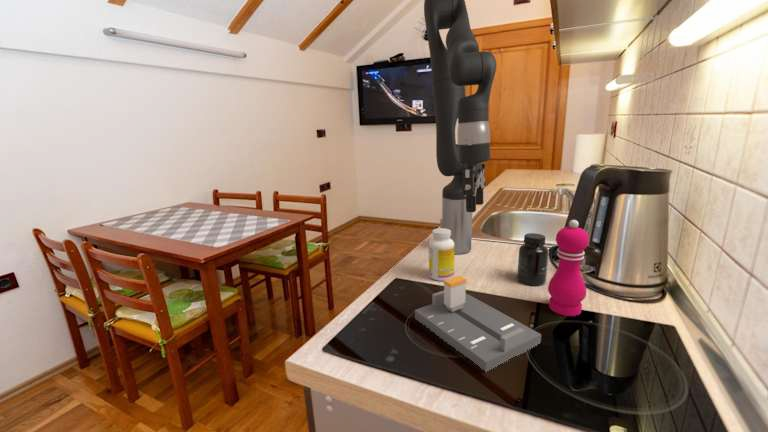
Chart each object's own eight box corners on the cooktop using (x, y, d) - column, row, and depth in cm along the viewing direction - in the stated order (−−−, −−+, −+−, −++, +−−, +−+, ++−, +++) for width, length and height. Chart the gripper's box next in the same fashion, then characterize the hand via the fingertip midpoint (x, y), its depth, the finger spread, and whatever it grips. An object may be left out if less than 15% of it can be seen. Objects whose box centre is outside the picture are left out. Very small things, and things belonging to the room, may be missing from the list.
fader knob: (443, 308, 74) (443, 280, 72) (458, 302, 76) (459, 275, 74) (450, 313, 72) (450, 284, 70) (465, 307, 74) (466, 279, 72)
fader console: (414, 318, 75) (414, 299, 74) (464, 300, 82) (464, 282, 80) (485, 372, 58) (486, 349, 57) (540, 343, 65) (542, 322, 64)
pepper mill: (582, 321, 72) (594, 226, 66) (543, 312, 75) (552, 222, 70) (584, 305, 77) (595, 217, 72) (549, 297, 81) (556, 213, 76)
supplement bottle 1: (458, 275, 95) (459, 229, 91) (445, 284, 90) (445, 236, 87) (438, 269, 99) (438, 225, 96) (423, 277, 94) (423, 231, 91)
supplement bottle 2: (548, 287, 86) (553, 240, 83) (519, 285, 88) (522, 239, 84) (542, 275, 93) (546, 232, 90) (515, 274, 94) (517, 231, 91)
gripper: (465, 141, 92) (467, 202, 96) (449, 144, 80) (452, 214, 84) (495, 139, 89) (495, 202, 93) (483, 142, 77) (484, 215, 80)
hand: (475, 208), depth 88 cm, fingers open, 8 cm apart
